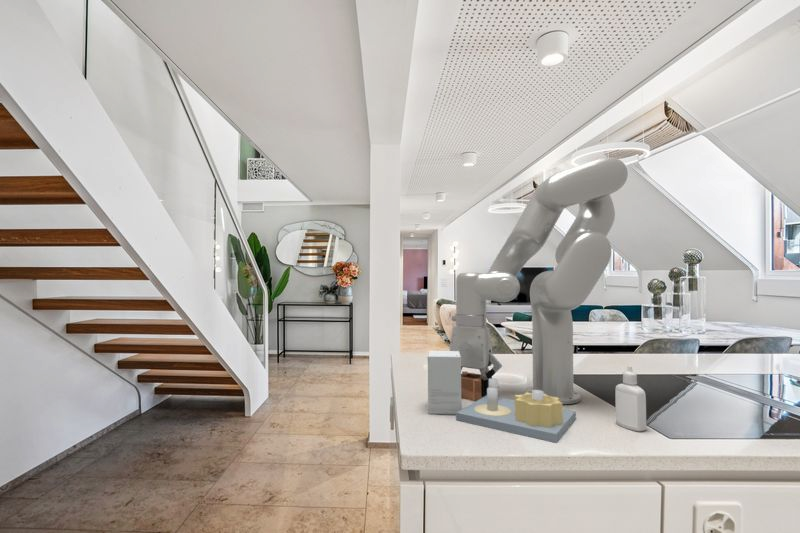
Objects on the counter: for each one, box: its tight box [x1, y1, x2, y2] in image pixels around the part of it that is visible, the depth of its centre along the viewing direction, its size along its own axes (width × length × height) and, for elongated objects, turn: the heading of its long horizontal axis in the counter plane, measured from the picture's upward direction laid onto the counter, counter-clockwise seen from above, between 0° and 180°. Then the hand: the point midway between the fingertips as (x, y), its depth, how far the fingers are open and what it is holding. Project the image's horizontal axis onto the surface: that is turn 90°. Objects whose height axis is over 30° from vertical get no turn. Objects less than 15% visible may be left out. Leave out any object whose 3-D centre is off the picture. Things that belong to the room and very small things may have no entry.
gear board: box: [455, 377, 577, 443], centre depth 84 cm, size 16×20×7 cm
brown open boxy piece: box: [461, 371, 493, 402], centre depth 101 cm, size 8×8×5 cm
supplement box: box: [427, 350, 462, 415], centre depth 90 cm, size 7×7×13 cm
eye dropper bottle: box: [614, 365, 647, 432], centre depth 80 cm, size 4×6×12 cm
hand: (471, 392), depth 101 cm, fingers closed on brown open boxy piece, 6 cm apart
